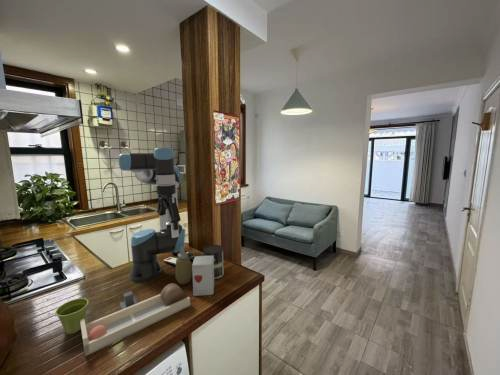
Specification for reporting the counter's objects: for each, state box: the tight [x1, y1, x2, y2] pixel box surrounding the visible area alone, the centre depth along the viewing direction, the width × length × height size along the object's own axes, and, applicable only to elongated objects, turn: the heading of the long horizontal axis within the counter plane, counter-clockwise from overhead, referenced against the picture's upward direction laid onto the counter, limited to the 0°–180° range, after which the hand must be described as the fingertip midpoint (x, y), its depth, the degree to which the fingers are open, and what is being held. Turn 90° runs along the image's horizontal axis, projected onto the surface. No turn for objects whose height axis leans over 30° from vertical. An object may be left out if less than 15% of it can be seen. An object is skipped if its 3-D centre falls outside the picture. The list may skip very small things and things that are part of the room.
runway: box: [80, 293, 191, 357], centre depth 85 cm, size 11×36×6 cm, turn 131°
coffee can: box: [202, 244, 225, 280], centre depth 116 cm, size 10×10×14 cm
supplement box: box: [191, 255, 215, 297], centre depth 103 cm, size 9×9×15 cm
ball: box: [89, 325, 107, 341], centre depth 74 cm, size 5×5×5 cm
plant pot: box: [54, 297, 90, 335], centre depth 81 cm, size 9×9×9 cm
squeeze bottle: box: [174, 246, 193, 285], centre depth 109 cm, size 8×8×18 cm
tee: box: [119, 290, 139, 310], centre depth 93 cm, size 6×6×5 cm
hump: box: [160, 283, 186, 306], centre depth 93 cm, size 6×8×8 cm
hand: (169, 233), depth 97 cm, fingers open, 13 cm apart
